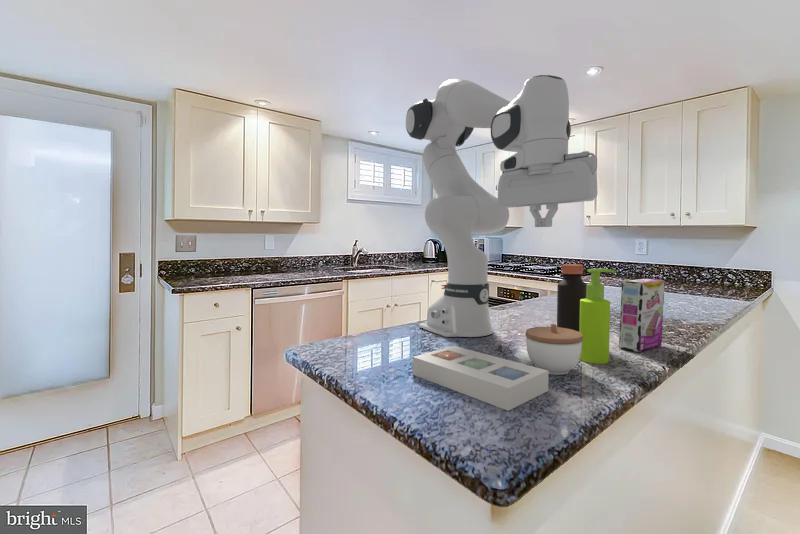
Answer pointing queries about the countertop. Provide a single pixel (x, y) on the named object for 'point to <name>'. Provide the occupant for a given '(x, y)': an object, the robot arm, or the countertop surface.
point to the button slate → (509, 373)
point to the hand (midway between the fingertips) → (543, 227)
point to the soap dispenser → (595, 321)
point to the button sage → (476, 364)
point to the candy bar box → (641, 314)
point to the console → (482, 377)
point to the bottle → (570, 296)
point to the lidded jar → (554, 348)
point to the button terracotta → (448, 355)
